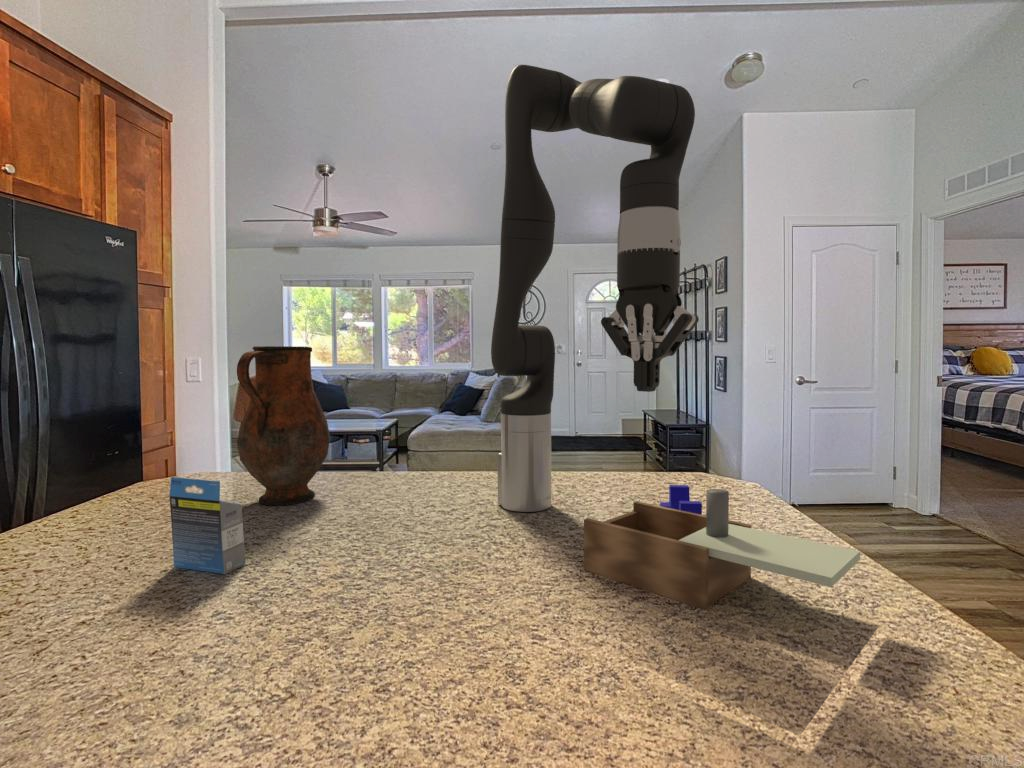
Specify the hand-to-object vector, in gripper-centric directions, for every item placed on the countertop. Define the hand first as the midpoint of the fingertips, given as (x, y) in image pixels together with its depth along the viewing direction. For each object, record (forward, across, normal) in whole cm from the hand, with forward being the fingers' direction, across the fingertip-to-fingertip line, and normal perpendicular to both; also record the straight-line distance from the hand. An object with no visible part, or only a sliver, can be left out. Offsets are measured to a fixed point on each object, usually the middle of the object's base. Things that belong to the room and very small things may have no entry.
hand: (646, 391), depth 71 cm
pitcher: (+24, -70, -17) cm, 76 cm away
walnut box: (+23, +3, 0) cm, 23 cm away
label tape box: (+24, -43, -38) cm, 62 cm away
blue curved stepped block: (+24, -6, +19) cm, 31 cm away
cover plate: (+17, +15, 0) cm, 23 cm away
